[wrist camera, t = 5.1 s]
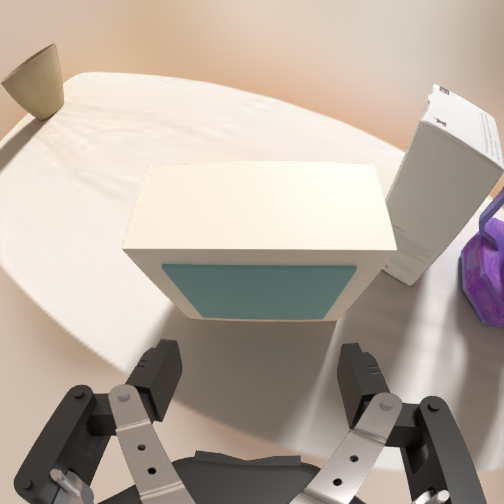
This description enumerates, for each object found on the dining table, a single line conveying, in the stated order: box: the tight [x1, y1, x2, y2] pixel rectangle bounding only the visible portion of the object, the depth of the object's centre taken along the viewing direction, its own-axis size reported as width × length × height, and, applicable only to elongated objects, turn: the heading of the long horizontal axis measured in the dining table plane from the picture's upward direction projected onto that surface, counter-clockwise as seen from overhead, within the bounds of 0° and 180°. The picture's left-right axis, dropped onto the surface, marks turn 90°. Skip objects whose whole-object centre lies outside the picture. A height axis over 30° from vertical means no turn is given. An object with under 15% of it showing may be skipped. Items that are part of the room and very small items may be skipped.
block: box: [122, 161, 397, 322], centre depth 17 cm, size 12×5×12 cm, turn 88°
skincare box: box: [382, 84, 504, 286], centre depth 18 cm, size 8×6×15 cm
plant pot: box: [1, 43, 64, 121], centre depth 38 cm, size 15×15×16 cm
